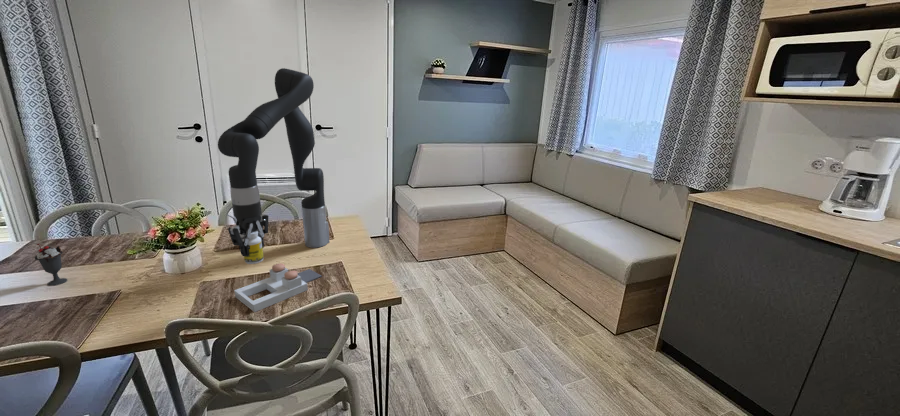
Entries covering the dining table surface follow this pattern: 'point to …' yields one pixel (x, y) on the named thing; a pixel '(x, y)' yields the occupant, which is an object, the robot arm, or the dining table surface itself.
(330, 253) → the dining table surface
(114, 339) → the dining table surface
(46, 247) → the sundae
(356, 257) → the dining table surface
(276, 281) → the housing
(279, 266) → the plunger
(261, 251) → the supplement bottle
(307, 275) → the pad
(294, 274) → the plunger
